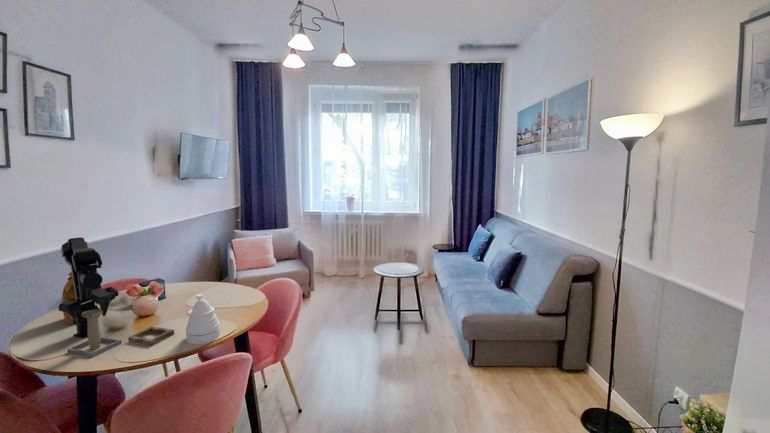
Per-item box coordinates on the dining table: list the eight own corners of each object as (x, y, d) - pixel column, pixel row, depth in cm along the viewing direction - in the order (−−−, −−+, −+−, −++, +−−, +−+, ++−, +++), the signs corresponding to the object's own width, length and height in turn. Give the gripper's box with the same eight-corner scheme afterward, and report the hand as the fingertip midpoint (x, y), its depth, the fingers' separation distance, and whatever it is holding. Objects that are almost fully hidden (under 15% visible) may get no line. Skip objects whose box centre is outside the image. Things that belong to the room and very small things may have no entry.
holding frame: (67, 352, 140) (67, 349, 140) (98, 339, 152) (97, 335, 151) (92, 357, 137) (91, 353, 137) (121, 343, 148) (121, 339, 148)
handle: (103, 349, 143) (99, 312, 141) (82, 352, 141) (79, 315, 139) (107, 343, 148) (104, 308, 146) (87, 346, 145) (84, 310, 144)
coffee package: (61, 326, 163) (55, 279, 160) (65, 317, 173) (59, 272, 170) (89, 321, 169) (84, 275, 166) (91, 312, 179) (87, 269, 176)
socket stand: (128, 342, 149) (128, 337, 149) (152, 330, 160) (151, 326, 160) (151, 346, 146) (151, 341, 146) (174, 334, 157) (173, 329, 156)
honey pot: (182, 337, 154) (179, 296, 152) (213, 327, 163) (210, 289, 161) (193, 347, 145) (190, 304, 143) (225, 336, 155) (223, 296, 152)
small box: (145, 304, 190) (144, 284, 189) (139, 301, 194) (137, 282, 192) (166, 298, 199) (165, 279, 198) (160, 295, 203) (158, 277, 201)
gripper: (77, 292, 130) (82, 333, 132) (127, 277, 147) (130, 313, 150) (55, 289, 133) (60, 329, 135) (106, 274, 150) (109, 310, 153)
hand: (92, 320), depth 143 cm, fingers open, 9 cm apart
